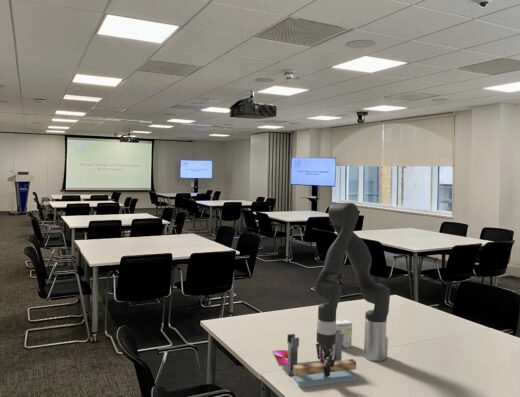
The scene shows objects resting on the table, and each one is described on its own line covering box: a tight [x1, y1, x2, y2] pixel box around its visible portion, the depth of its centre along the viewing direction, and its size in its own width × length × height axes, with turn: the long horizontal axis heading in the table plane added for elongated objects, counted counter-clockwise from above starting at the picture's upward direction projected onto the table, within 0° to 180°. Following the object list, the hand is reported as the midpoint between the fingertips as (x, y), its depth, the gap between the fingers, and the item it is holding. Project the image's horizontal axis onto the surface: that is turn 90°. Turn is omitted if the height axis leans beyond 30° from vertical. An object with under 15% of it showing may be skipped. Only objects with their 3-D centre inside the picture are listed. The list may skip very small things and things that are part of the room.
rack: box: [281, 330, 344, 377], centre depth 183 cm, size 26×7×14 cm, turn 108°
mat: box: [292, 370, 359, 388], centre depth 173 cm, size 24×8×1 cm, turn 108°
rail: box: [293, 358, 357, 376], centre depth 173 cm, size 26×3×3 cm, turn 107°
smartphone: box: [272, 349, 288, 367], centre depth 192 cm, size 7×1×15 cm
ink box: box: [336, 319, 353, 349], centre depth 209 cm, size 9×5×12 cm, turn 107°
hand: (324, 373), depth 173 cm, fingers closed on rail, 3 cm apart
